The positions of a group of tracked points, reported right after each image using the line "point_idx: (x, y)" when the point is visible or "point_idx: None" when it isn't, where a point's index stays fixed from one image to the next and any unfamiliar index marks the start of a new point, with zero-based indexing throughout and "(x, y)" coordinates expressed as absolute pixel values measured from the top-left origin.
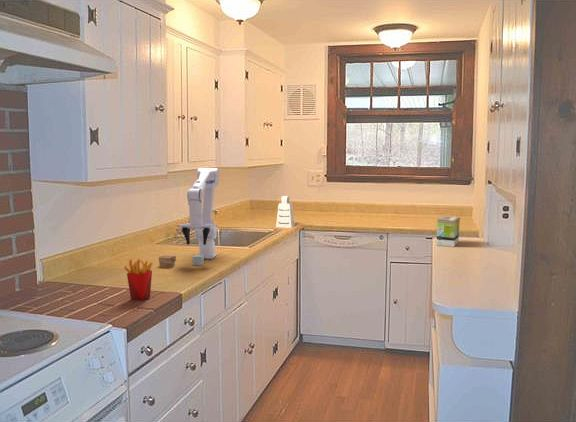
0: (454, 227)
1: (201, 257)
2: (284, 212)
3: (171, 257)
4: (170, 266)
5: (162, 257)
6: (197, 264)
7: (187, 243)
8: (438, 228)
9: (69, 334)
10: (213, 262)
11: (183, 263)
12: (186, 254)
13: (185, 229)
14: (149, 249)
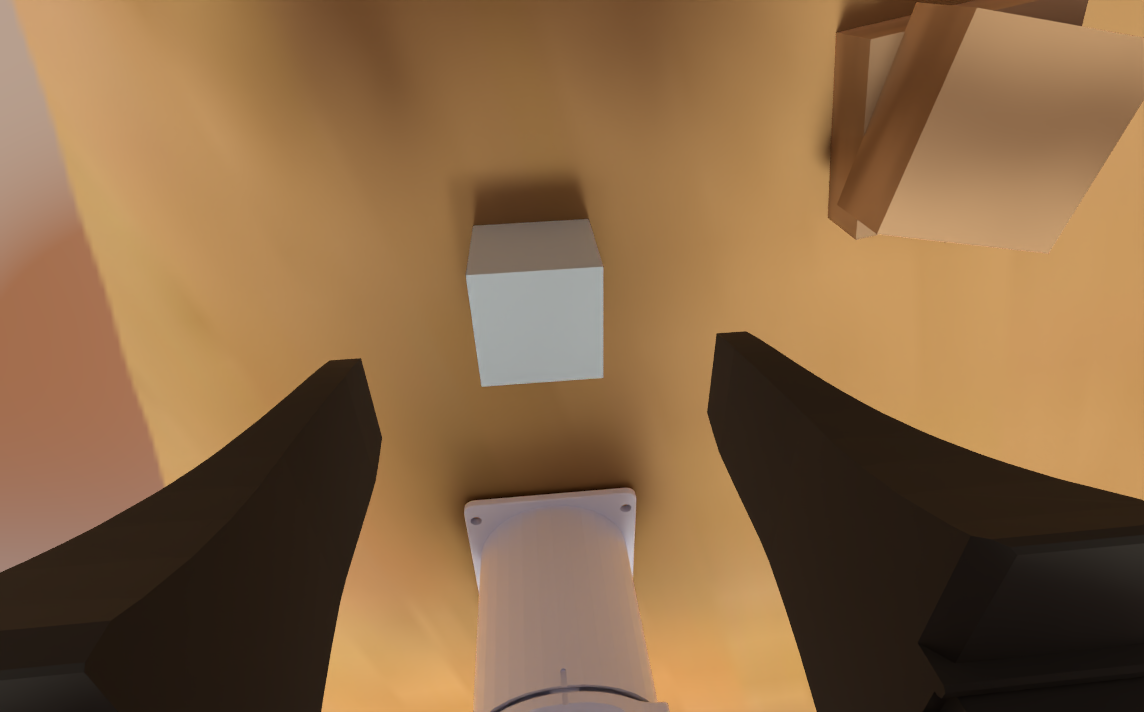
0: None
1: (468, 281)
2: None
3: (945, 75)
4: (882, 26)
5: (1112, 33)
6: (526, 225)
7: (746, 336)
8: None
9: None
10: (387, 381)
11: (729, 283)
12: (763, 590)
13: (1031, 667)
14: None
